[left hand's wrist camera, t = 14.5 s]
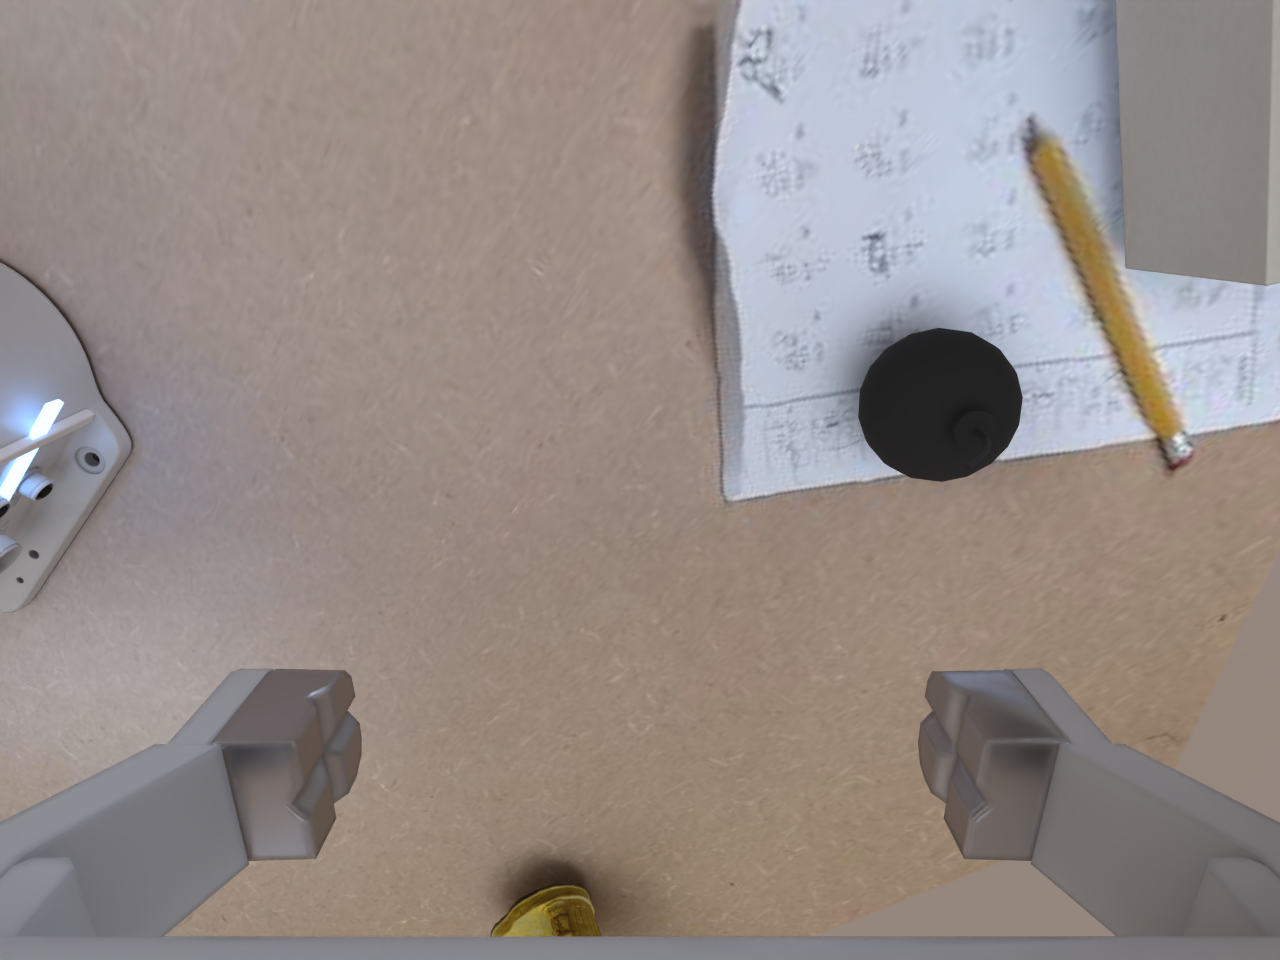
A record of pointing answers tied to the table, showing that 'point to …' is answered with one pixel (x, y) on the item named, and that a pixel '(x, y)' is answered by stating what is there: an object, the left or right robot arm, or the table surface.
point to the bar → (1201, 137)
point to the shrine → (550, 914)
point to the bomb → (940, 404)
